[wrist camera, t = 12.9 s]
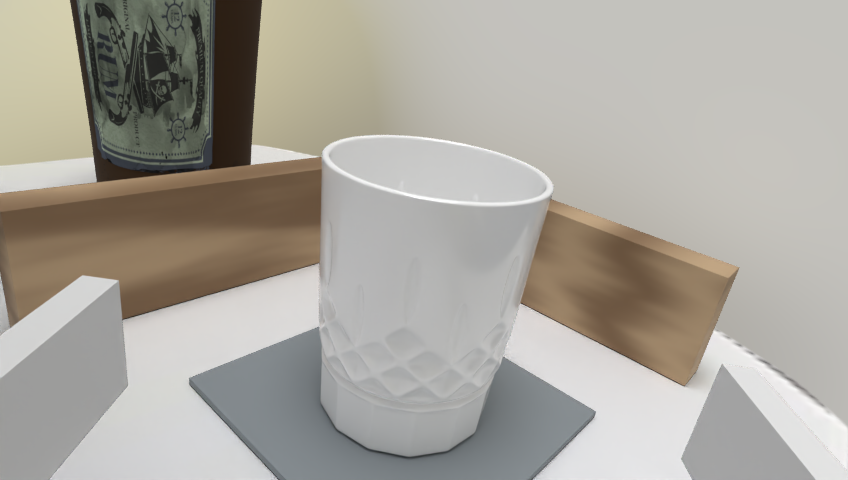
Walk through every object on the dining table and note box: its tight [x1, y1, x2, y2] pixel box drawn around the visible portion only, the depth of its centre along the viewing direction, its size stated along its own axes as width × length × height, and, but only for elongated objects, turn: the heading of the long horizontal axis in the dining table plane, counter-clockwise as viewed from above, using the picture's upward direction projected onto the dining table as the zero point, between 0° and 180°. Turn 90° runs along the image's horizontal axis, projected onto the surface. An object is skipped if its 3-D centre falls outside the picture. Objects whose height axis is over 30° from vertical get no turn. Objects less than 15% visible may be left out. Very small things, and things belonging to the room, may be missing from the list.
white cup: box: [319, 135, 554, 457], centre depth 20 cm, size 8×8×10 cm
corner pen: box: [0, 157, 739, 386], centre depth 25 cm, size 22×24×6 cm
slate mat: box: [189, 327, 596, 480], centre depth 22 cm, size 12×12×1 cm
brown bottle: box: [70, 0, 262, 182], centre depth 33 cm, size 11×11×25 cm
